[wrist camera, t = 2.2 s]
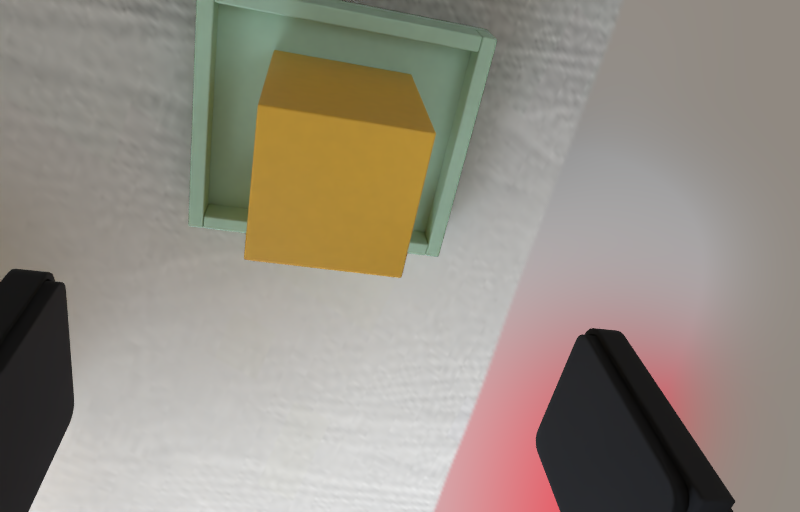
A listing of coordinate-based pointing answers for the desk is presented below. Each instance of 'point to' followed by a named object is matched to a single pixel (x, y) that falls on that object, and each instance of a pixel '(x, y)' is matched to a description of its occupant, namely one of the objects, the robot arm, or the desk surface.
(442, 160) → the green tray
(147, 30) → the desk surface
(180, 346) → the desk surface
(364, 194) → the mustard box
